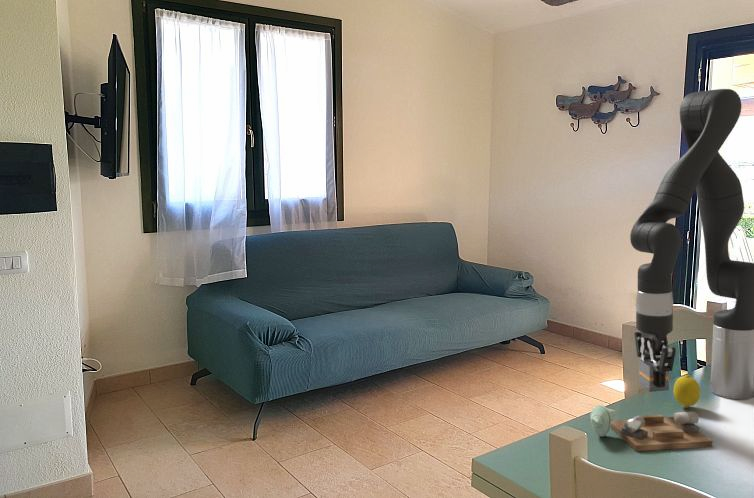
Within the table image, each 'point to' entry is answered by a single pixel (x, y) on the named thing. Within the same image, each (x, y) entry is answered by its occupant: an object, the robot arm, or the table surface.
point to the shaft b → (635, 428)
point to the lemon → (686, 391)
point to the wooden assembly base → (666, 432)
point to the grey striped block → (650, 376)
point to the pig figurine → (601, 419)
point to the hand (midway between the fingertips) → (653, 382)
